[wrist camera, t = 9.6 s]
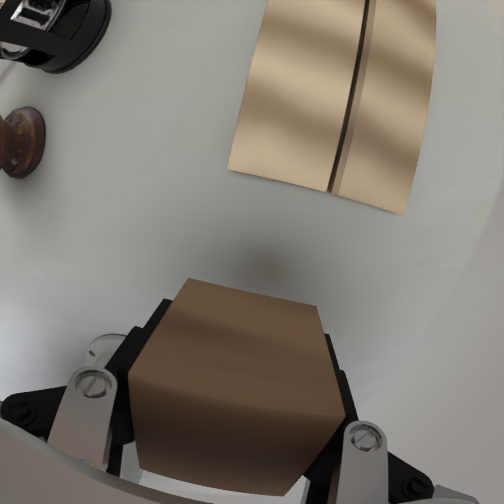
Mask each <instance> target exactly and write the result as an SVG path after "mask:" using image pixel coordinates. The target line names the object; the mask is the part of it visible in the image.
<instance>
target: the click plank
mask: <svg viewBox="0 0 504 504" xmlns="http://www.w3.org/2000/svg"><path fill="white" fill-rule="evenodd" d="M364 4H365V0H268V3H267V7H266V10H265V14H264V17H263V21H262V25H261V28H260V32H259V36H258V40H257V43H256V47H255V51H254V55H253V59H252V63H251V67H250V71H249V75H248V79H247V83H246V87H245V91H244V95H243V100H242V104H241V108H240V112H239V117H238V121H237V126H236V130H235V135H234V139H233V144H232V148H231V153H230V158H229V163H228V167H227V170H232V171H237V172H242V173H247V174H252V175H257V176H261V177H266V178H270V179H275V180H279V181H283V182H288V183H292V184H296V185H300V186H304V187H308V188H312V189H316V190H320V191H324V192H326V190H327V186H328V182H329V178H330V175H331V171H332V167H333V163H334V158H335V154H336V150H337V146H338V142H339V137H340V133H341V129H342V124H343V120H344V115H345V111H346V106H347V101H348V96H349V91H350V86H351V81H352V76H353V71H354V66H355V60H356V55H357V49H358V43H359V37H360V31H361V25H362V18H363V11H364Z"/></svg>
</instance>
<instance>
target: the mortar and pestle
mask: <svg viewBox="0 0 504 504" xmlns="http://www.w3.org/2000/svg"><path fill="white" fill-rule="evenodd" d="M43 147H44V124H43V120H42V118H41V115H40V114H39V113H38V112H37V111H36V110H35V109H34V108H32V107H28V106H27V107H23V108H19V109H16V110H14V111H12V112H11V113H10V114H9V115H8V116H7V117H6V118H5V120H4V121H3V119H2V117H1V115H0V170H1V168H2V169H3V170H4V171H5V172H6V173H7V174H8V175H9V176H10V177H13V178H24V177H25V176H27V175H28V174H30V173H31V172H32V171H33V170H34V169H35V168H36V166H37V165H38V163H39V162H40V159H41V157H42V152H43Z"/></svg>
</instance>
